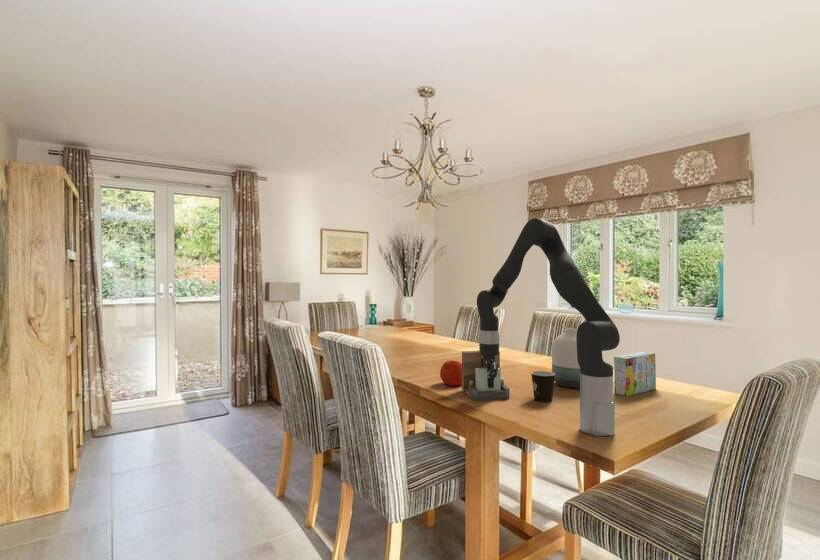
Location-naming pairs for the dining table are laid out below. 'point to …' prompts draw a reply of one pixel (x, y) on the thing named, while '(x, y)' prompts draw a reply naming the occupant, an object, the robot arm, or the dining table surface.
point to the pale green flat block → (483, 380)
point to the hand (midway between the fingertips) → (489, 386)
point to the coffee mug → (543, 385)
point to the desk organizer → (469, 366)
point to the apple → (451, 373)
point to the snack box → (634, 373)
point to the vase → (566, 359)
